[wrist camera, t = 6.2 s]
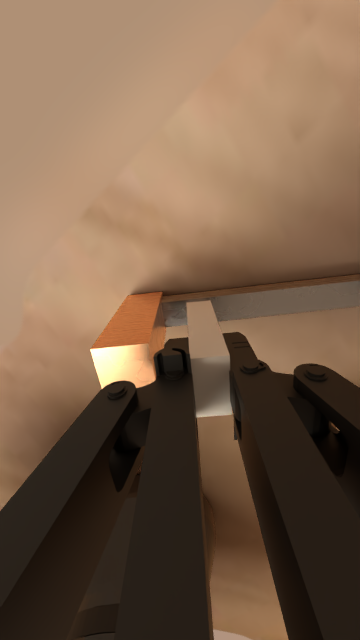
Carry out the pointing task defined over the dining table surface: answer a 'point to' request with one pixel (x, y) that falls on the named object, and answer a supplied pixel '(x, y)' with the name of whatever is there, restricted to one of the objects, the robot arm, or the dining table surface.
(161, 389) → the robot arm
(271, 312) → the wood-tipped metal rod
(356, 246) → the dining table surface
